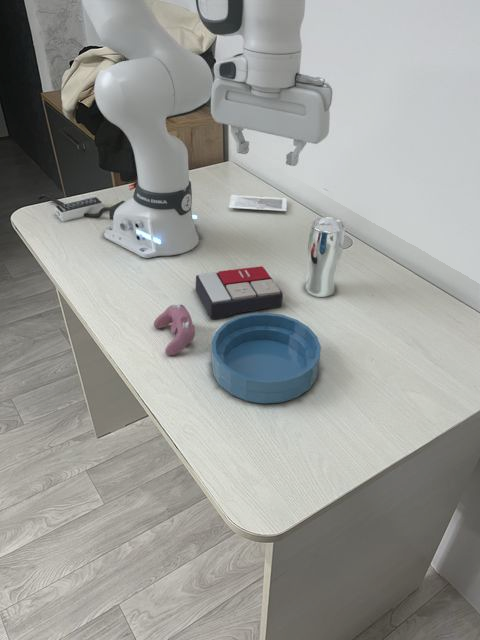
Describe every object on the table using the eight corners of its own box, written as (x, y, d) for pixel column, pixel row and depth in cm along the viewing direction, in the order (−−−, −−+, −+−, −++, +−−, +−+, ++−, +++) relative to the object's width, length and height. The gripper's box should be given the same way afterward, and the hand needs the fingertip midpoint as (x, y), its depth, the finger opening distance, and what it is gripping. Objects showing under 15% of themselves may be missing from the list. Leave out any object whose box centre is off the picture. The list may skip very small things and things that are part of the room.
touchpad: (231, 198, 147) (231, 191, 145) (286, 201, 147) (286, 194, 145) (228, 211, 141) (228, 203, 139) (286, 214, 141) (286, 207, 139)
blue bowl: (191, 379, 91) (190, 356, 88) (245, 323, 104) (245, 301, 101) (289, 419, 85) (291, 397, 82) (333, 354, 98) (336, 333, 95)
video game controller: (187, 360, 97) (203, 329, 94) (164, 356, 95) (180, 324, 92) (172, 328, 104) (187, 298, 101) (151, 324, 102) (165, 293, 99)
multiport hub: (104, 211, 138) (103, 202, 136) (62, 221, 133) (60, 212, 131) (97, 204, 140) (96, 196, 139) (56, 214, 135) (54, 206, 134)
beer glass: (334, 300, 111) (344, 235, 102) (301, 295, 112) (308, 230, 103) (337, 282, 117) (347, 218, 107) (305, 278, 117) (312, 214, 108)
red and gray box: (284, 291, 107) (211, 301, 101) (281, 309, 109) (210, 319, 104) (263, 263, 114) (195, 271, 109) (262, 281, 117) (195, 289, 112)
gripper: (341, 75, 82) (330, 165, 91) (225, 56, 89) (225, 141, 97) (325, 84, 77) (315, 178, 86) (204, 63, 84) (206, 151, 93)
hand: (266, 158), depth 92 cm, fingers open, 8 cm apart
